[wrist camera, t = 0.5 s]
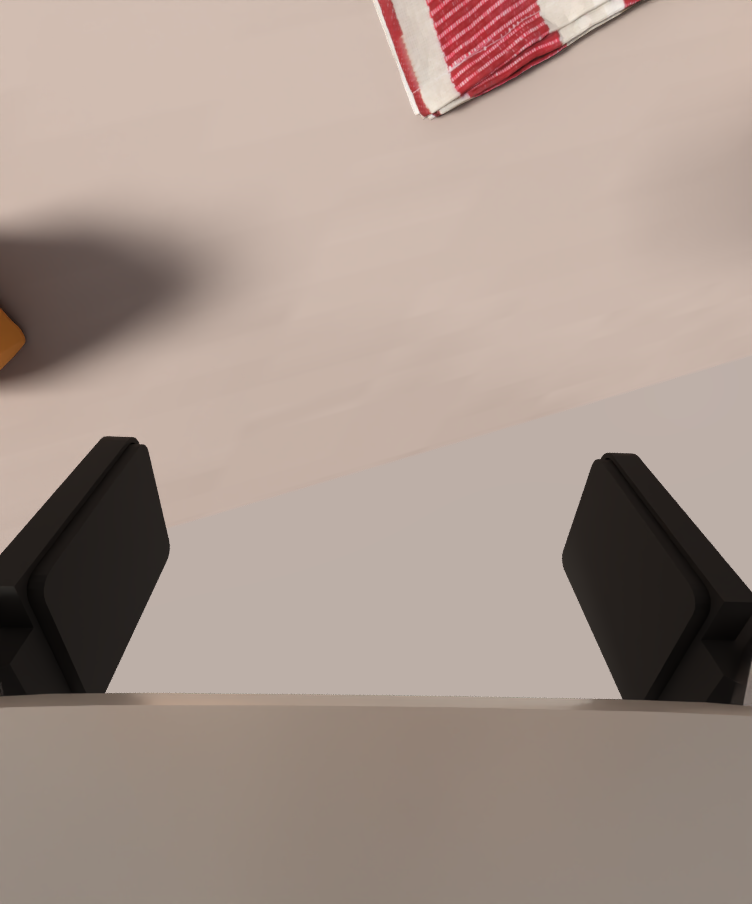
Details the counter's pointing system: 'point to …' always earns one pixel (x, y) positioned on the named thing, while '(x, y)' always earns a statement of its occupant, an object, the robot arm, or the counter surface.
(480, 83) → the dish towel
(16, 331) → the coffee package
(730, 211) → the counter surface
